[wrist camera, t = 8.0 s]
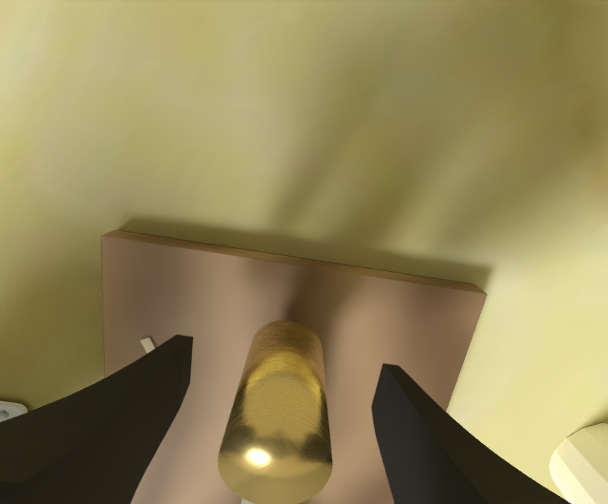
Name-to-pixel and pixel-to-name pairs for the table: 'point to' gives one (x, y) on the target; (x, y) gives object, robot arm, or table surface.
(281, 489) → the lever
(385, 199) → the table surface
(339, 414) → the bench base
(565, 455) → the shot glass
